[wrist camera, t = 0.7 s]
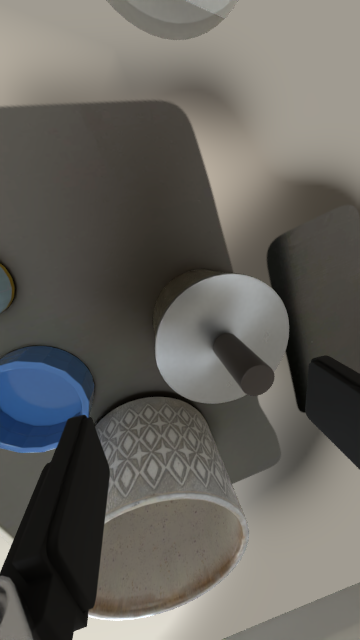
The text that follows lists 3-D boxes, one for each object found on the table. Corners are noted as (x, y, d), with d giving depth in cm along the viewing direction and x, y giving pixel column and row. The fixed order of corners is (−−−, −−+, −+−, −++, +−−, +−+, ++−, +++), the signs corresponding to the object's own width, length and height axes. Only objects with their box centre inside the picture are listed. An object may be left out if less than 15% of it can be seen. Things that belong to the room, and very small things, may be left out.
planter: (105, 496, 36) (87, 642, 23) (70, 408, 30) (19, 538, 17) (211, 465, 39) (251, 579, 26) (200, 377, 33) (246, 469, 19)
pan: (-16, 341, 25) (-43, 358, 21) (97, 349, 28) (91, 365, 24) (-8, 427, 29) (-29, 455, 25) (92, 426, 32) (86, 450, 28)
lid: (165, 260, 19) (181, 269, 12) (299, 283, 22) (371, 299, 15) (145, 395, 22) (150, 458, 16) (262, 398, 26) (306, 451, 19)
